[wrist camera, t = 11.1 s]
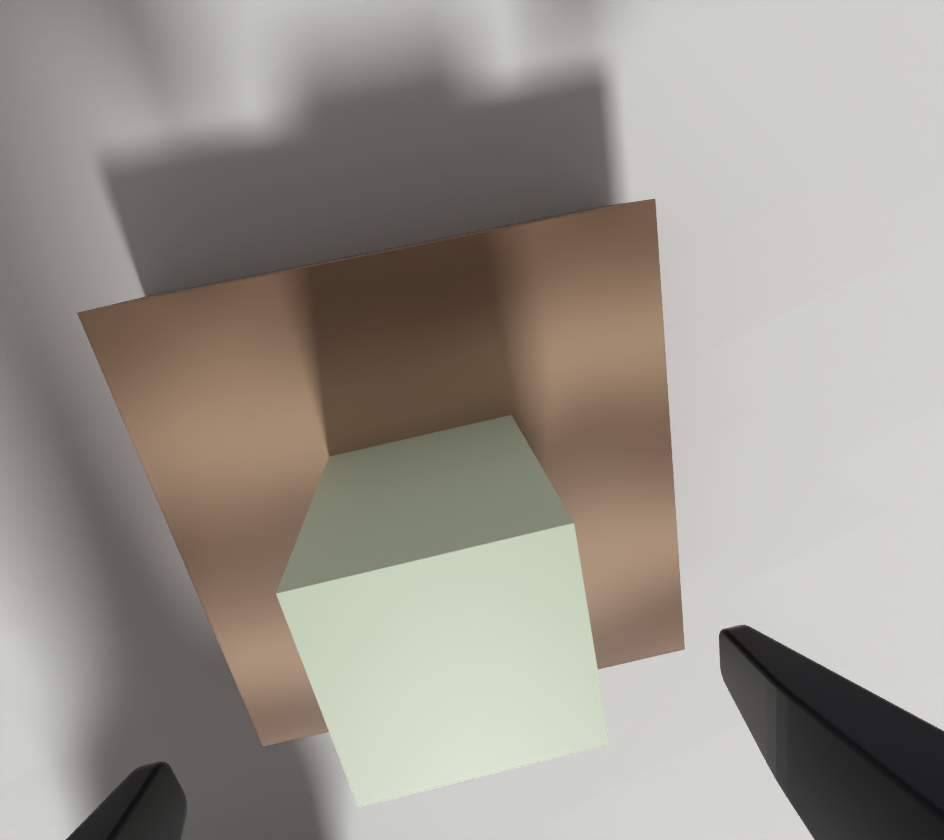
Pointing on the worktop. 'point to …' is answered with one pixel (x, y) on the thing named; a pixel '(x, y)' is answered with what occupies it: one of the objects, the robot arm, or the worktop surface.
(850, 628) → the worktop surface
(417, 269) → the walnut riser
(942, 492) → the worktop surface
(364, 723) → the sage block
